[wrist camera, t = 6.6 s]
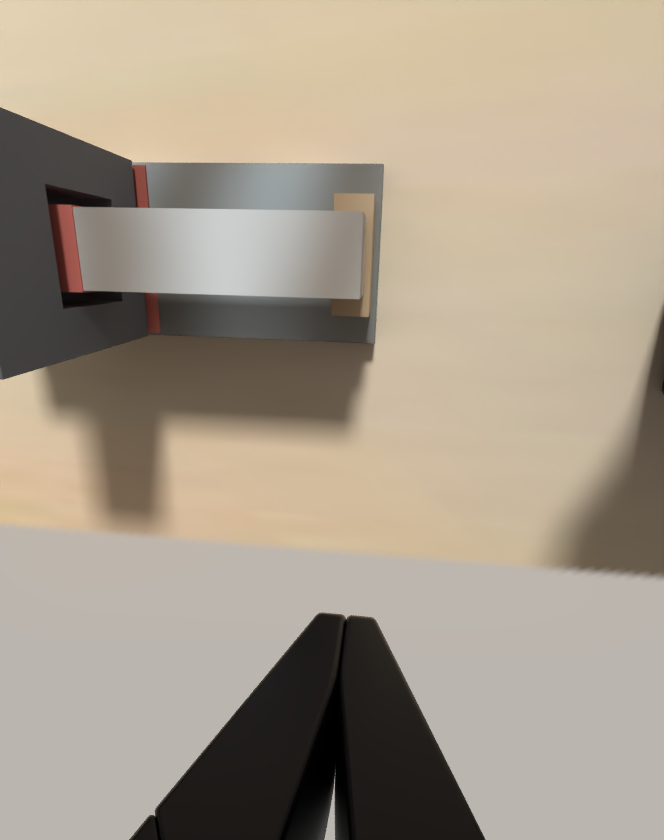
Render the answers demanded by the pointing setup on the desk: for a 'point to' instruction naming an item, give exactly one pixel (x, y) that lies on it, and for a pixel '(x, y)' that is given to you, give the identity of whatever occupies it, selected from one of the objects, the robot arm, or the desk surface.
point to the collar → (35, 255)
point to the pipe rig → (236, 249)
